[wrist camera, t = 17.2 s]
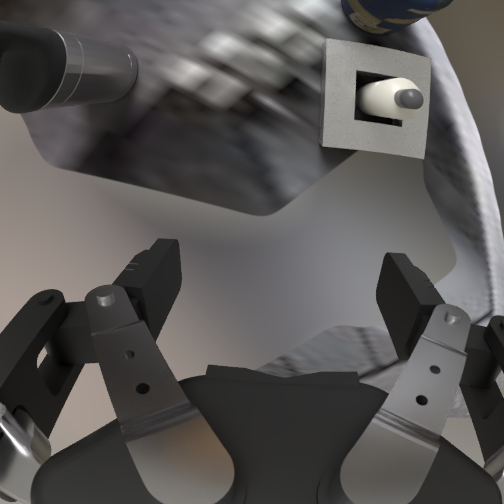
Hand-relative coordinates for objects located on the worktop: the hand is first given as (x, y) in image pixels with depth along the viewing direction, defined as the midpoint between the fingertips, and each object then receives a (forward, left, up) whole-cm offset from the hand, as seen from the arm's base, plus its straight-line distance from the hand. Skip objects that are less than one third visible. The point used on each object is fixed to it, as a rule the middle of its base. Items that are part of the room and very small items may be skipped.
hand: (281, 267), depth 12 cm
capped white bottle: (+12, +8, -33) cm, 36 cm away
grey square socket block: (+12, +8, -33) cm, 36 cm away
